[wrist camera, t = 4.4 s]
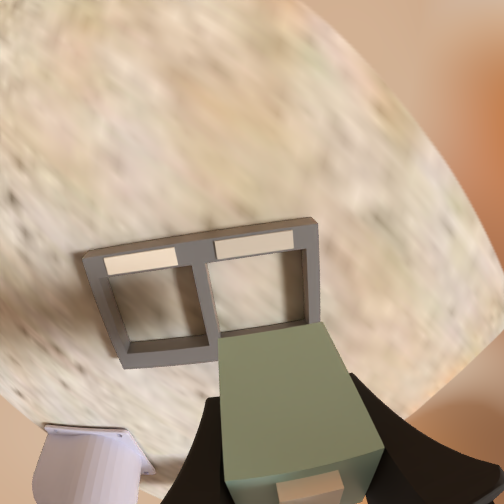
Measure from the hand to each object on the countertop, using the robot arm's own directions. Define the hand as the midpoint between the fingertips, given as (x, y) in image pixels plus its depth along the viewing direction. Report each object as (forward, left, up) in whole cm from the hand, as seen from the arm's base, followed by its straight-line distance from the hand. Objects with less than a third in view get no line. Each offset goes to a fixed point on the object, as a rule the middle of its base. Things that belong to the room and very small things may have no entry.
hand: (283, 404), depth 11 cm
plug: (0, 0, -2) cm, 2 cm away
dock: (-3, 0, -9) cm, 9 cm away
